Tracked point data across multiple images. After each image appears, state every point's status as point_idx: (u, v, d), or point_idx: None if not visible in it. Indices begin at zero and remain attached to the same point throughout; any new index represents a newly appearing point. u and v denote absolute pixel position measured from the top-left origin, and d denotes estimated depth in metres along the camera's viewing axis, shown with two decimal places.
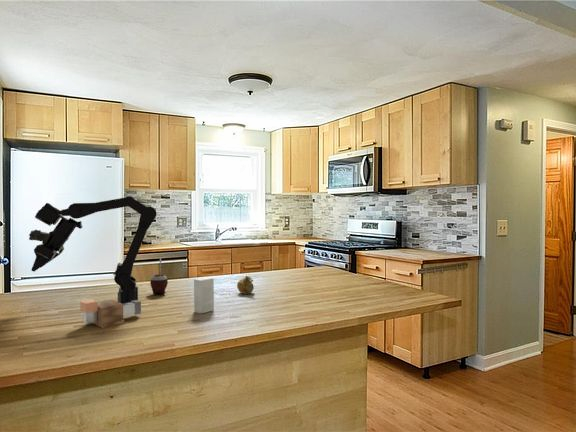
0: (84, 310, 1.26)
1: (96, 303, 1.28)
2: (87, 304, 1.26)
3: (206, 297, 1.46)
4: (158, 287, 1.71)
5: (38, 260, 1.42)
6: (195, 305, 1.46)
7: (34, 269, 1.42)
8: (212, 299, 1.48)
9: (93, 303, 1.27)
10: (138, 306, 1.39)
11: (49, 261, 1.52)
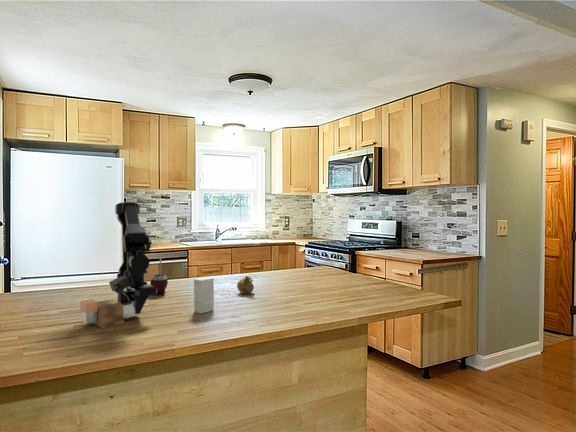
0: (84, 310, 1.26)
1: (96, 303, 1.28)
2: (87, 304, 1.26)
3: (206, 297, 1.46)
4: (158, 287, 1.71)
5: (139, 301, 1.37)
6: (195, 305, 1.46)
7: (139, 310, 1.38)
8: (212, 299, 1.48)
9: (93, 303, 1.27)
10: None
11: None
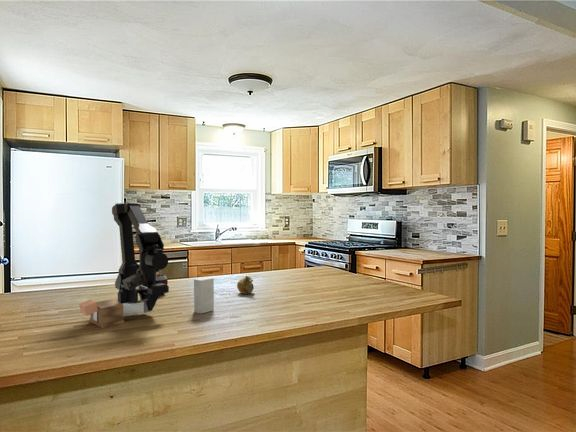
0: (84, 312, 1.27)
1: (95, 304, 1.27)
2: (86, 307, 1.25)
3: (206, 297, 1.46)
4: None
5: (151, 299, 1.41)
6: (195, 305, 1.46)
7: (151, 308, 1.42)
8: (212, 299, 1.48)
9: (92, 304, 1.27)
10: (147, 305, 1.41)
11: None
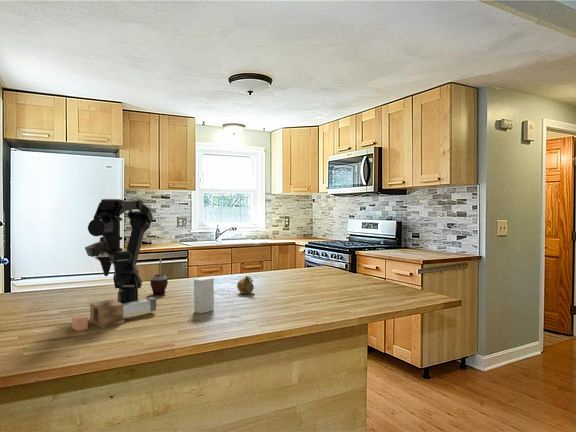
0: None
1: (79, 320, 1.24)
2: (78, 329, 1.24)
3: (206, 297, 1.46)
4: (158, 287, 1.71)
5: (118, 267, 1.40)
6: (195, 305, 1.46)
7: (118, 277, 1.41)
8: (212, 299, 1.48)
9: (78, 323, 1.24)
10: (154, 303, 1.43)
11: (110, 266, 1.49)
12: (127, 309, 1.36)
